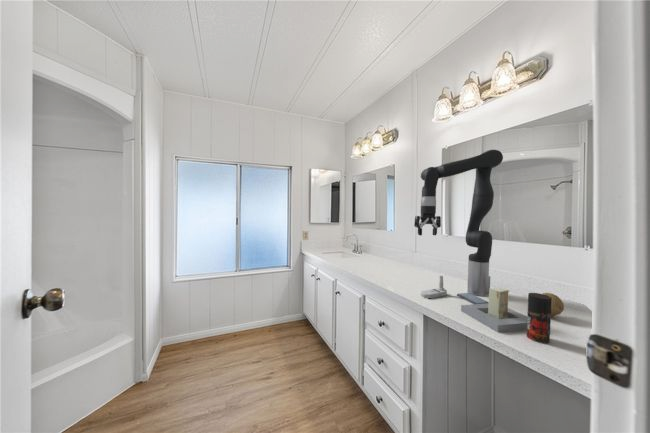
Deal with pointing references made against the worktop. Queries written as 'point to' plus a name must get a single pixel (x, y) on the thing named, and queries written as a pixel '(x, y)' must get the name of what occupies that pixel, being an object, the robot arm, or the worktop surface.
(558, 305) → the natural sponge
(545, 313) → the deodorant
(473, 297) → the plate
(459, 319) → the worktop surface
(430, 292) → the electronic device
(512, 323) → the plate
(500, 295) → the skincare box
